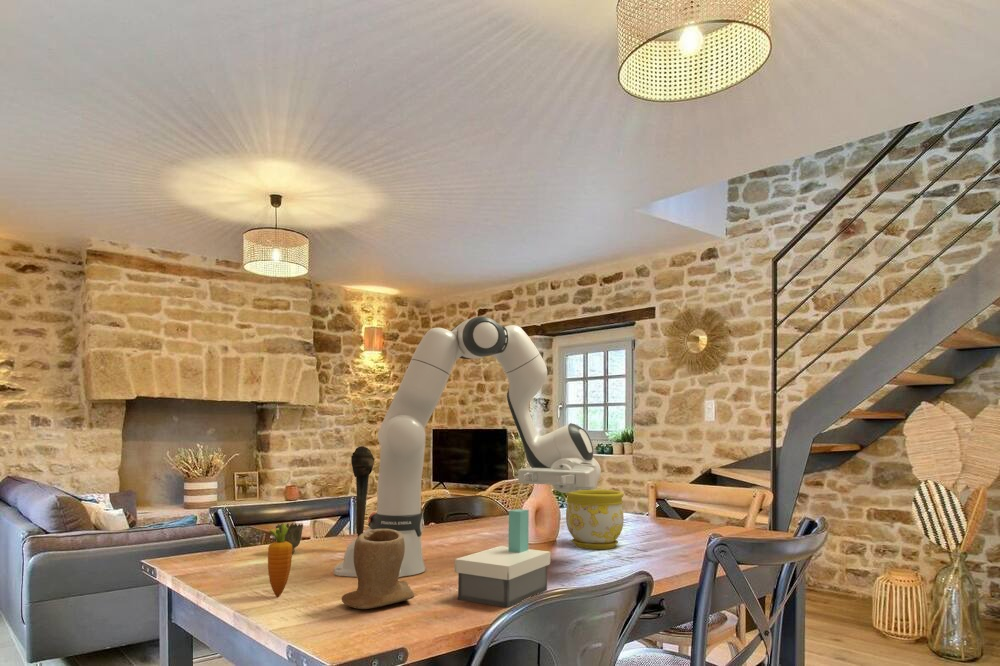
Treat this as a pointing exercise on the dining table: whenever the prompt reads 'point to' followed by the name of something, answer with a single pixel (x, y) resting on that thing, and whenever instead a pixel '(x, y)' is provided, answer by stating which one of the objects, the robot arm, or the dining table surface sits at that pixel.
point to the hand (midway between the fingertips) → (542, 478)
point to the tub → (501, 588)
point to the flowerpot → (595, 518)
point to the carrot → (279, 561)
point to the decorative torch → (361, 481)
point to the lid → (506, 554)
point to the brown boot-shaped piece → (378, 570)
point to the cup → (292, 534)
